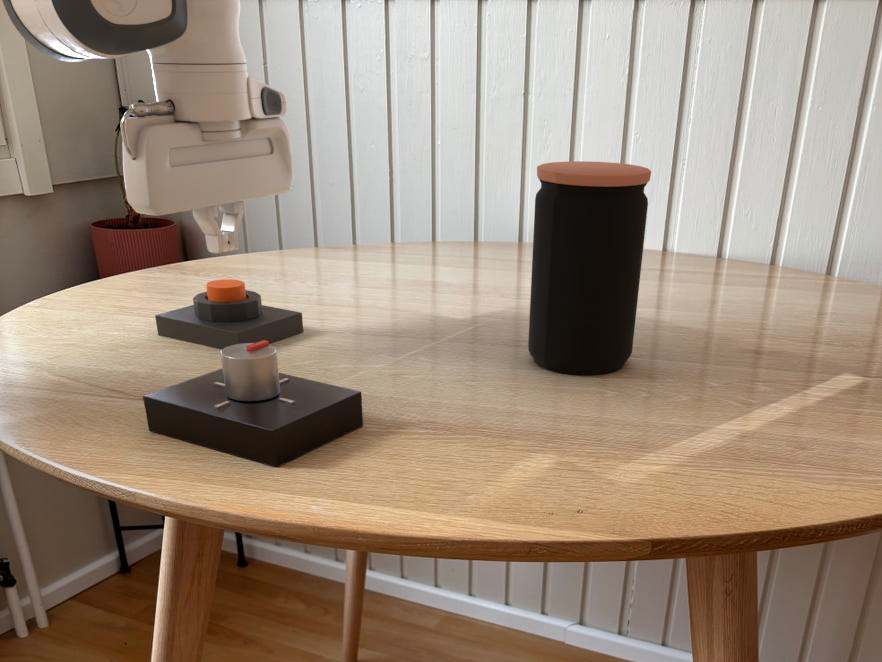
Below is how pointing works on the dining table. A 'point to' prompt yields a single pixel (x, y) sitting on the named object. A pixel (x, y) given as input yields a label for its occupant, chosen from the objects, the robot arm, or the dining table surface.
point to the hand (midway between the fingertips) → (223, 250)
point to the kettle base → (229, 322)
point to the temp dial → (250, 371)
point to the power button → (226, 290)
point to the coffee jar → (586, 265)
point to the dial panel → (255, 417)
